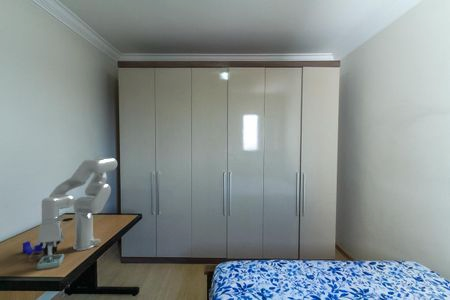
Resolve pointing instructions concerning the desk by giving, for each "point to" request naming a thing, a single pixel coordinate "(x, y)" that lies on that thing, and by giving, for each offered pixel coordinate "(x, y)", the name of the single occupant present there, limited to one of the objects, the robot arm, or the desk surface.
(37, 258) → the socket
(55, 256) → the tray
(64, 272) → the desk surface
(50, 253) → the flashlight
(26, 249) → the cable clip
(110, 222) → the desk surface
